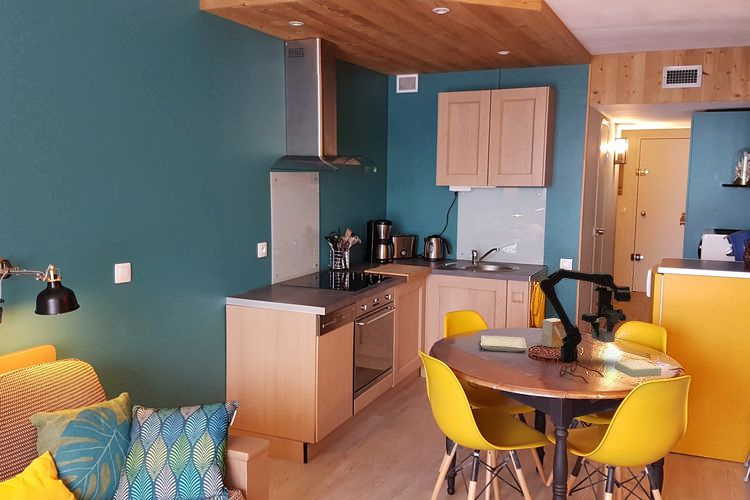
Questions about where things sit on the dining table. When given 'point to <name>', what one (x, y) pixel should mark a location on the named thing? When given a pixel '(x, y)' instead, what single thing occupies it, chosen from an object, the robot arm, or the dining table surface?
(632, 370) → the stand
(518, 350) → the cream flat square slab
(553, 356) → the dining table surface
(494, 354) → the dining table surface
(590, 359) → the dining table surface
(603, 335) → the block
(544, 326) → the small box
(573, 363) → the glasses
